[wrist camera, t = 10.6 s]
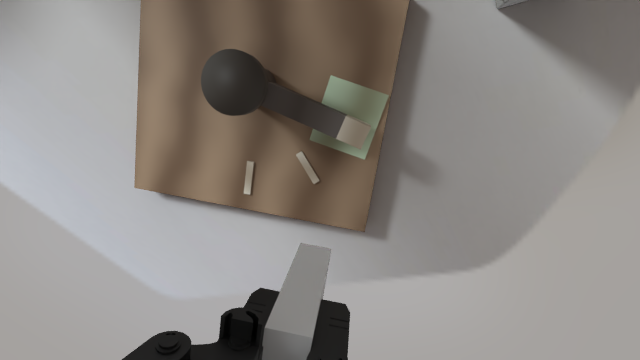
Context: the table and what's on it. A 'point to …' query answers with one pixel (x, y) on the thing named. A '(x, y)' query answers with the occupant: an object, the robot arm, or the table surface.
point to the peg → (271, 97)
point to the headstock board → (264, 124)
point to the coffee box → (507, 3)
